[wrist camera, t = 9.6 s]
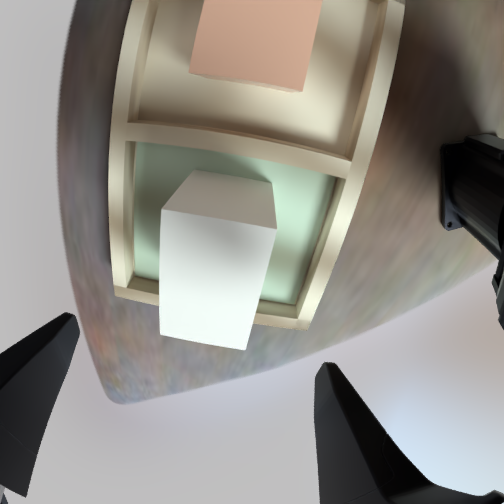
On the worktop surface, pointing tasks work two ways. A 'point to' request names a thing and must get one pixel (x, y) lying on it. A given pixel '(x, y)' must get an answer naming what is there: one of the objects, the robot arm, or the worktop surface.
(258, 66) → the terracotta block
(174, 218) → the block
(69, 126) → the worktop surface
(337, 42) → the slot cradle
